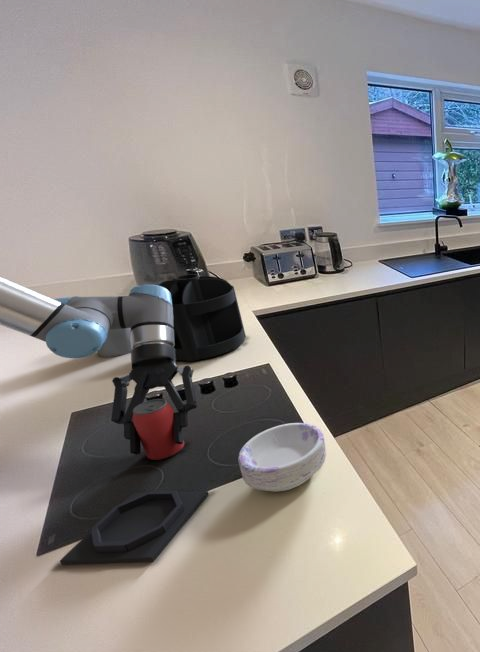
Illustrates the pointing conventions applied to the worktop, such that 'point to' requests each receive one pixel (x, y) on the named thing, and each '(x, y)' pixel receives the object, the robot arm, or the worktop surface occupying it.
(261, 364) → the worktop surface
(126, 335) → the coffee mug
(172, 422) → the beer can
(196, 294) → the container
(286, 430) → the white round bowl
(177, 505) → the dock pad
